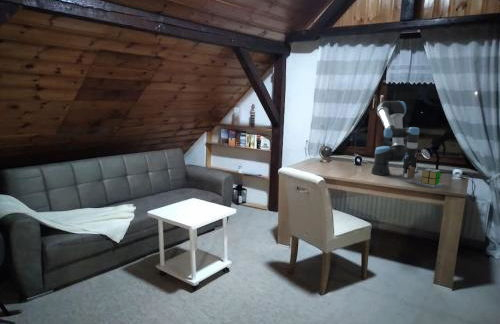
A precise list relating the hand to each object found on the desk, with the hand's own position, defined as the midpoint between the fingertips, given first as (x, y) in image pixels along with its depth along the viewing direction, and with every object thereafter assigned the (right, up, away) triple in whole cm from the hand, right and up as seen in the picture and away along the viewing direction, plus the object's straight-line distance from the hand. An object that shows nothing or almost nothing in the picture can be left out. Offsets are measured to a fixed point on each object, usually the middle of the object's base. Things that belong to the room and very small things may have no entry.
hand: (408, 176), depth 276 cm
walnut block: (0, 0, 0) cm, 0 cm away
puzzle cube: (+14, -5, -7) cm, 16 cm away
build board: (+14, -6, -6) cm, 16 cm away
